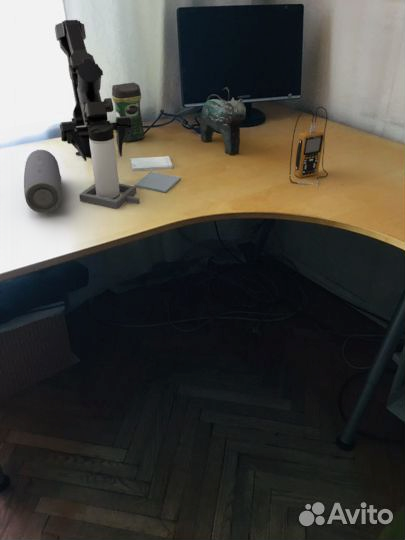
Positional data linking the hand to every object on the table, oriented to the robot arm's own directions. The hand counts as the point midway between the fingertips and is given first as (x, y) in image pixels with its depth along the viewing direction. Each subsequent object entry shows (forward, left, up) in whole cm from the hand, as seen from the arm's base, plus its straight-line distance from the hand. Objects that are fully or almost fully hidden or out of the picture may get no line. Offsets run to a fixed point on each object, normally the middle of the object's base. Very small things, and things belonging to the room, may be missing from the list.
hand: (103, 158), depth 120 cm
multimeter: (+50, +34, -11) cm, 61 cm away
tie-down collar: (+3, -1, -10) cm, 11 cm away
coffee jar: (-17, +42, -11) cm, 46 cm away
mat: (+9, +13, -10) cm, 19 cm away
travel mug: (+1, -1, -11) cm, 11 cm away
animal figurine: (+15, +47, -11) cm, 50 cm away
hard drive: (+1, +24, -11) cm, 26 cm away
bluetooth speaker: (-14, -8, -11) cm, 20 cm away
